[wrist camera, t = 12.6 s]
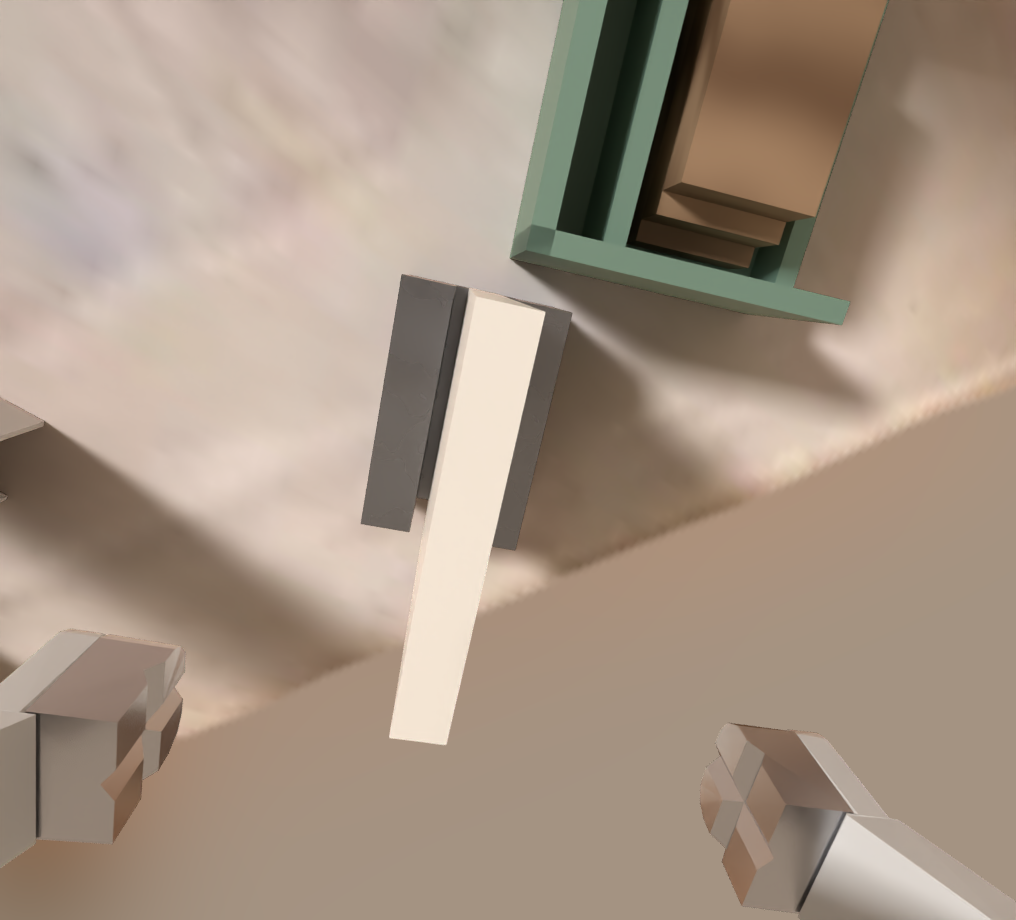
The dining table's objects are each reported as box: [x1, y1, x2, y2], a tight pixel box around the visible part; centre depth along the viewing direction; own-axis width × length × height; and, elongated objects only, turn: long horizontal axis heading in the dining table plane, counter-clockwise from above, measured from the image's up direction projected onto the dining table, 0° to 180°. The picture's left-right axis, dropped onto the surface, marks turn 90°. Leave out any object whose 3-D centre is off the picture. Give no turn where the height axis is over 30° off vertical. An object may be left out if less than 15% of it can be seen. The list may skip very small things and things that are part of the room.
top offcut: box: [663, 0, 887, 222], centre depth 25 cm, size 10×6×2 cm, turn 168°
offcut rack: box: [510, 0, 889, 325], centre depth 27 cm, size 18×14×9 cm
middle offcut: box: [642, 0, 786, 248], centre depth 27 cm, size 12×6×2 cm, turn 168°
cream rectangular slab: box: [389, 288, 546, 745], centre depth 24 cm, size 12×2×19 cm, turn 168°
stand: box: [361, 274, 572, 550], centre depth 32 cm, size 12×8×6 cm, turn 168°
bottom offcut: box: [626, 0, 755, 269], centre depth 29 cm, size 14×6×2 cm, turn 168°
